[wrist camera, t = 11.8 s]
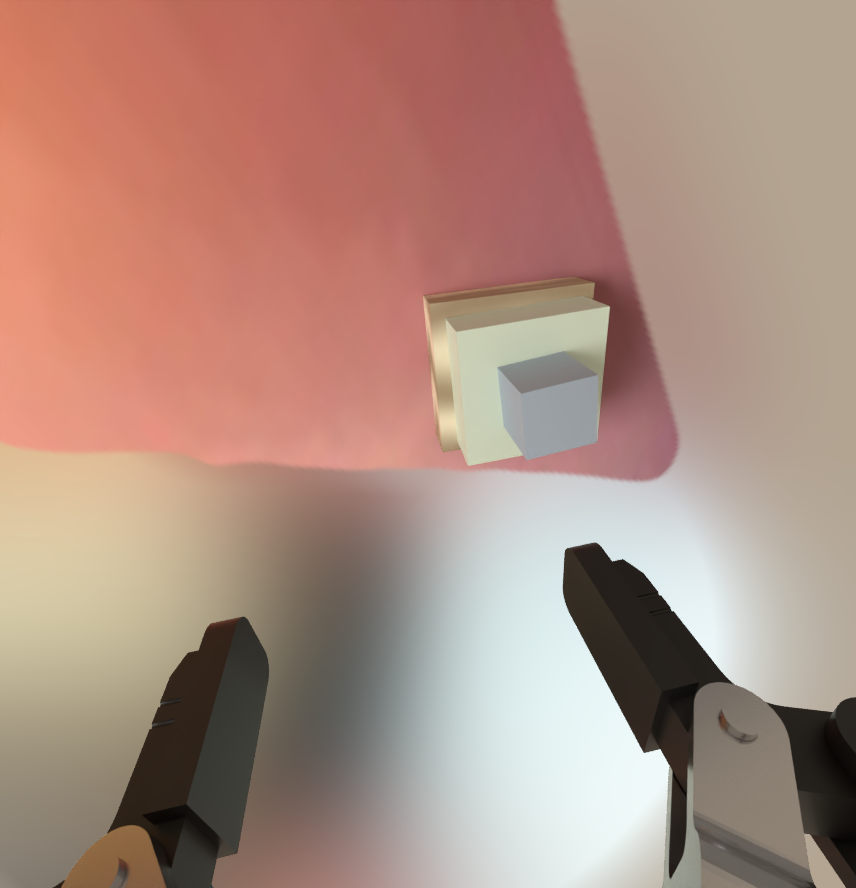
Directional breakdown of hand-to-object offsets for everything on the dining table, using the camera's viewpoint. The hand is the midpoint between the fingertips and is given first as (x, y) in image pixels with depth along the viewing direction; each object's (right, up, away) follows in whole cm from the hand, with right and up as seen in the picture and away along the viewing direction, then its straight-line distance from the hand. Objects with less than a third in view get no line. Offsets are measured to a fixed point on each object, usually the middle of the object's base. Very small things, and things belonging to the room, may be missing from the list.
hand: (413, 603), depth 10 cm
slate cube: (+8, +8, +21) cm, 24 cm away
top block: (+8, +10, +24) cm, 27 cm away
